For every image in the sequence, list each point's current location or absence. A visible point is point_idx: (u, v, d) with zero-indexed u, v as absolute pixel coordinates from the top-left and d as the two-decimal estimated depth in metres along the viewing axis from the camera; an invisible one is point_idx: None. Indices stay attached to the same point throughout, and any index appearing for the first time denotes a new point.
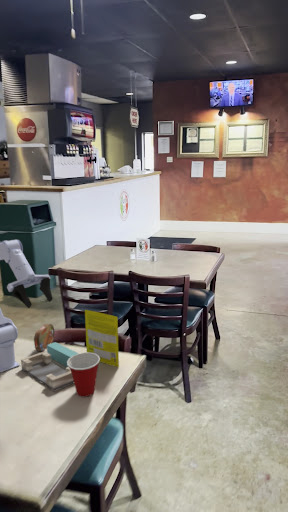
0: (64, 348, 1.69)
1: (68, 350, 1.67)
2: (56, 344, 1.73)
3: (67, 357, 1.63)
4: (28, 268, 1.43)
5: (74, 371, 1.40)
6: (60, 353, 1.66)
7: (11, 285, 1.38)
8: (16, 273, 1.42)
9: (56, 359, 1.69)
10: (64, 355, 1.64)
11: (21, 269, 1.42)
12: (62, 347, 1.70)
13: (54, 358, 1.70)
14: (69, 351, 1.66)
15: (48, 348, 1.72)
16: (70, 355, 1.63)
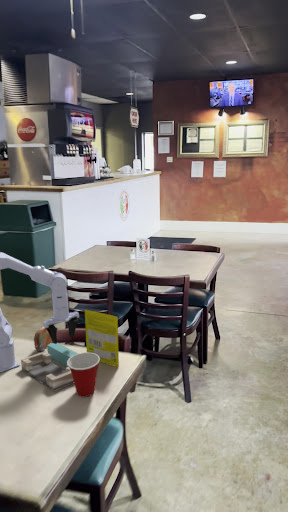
0: (64, 348, 1.69)
1: (68, 350, 1.67)
2: (56, 344, 1.73)
3: (67, 357, 1.63)
4: (66, 311, 1.63)
5: (74, 371, 1.40)
6: (60, 353, 1.66)
7: (47, 324, 1.60)
8: (55, 311, 1.62)
9: (56, 359, 1.69)
10: (64, 355, 1.64)
11: (61, 311, 1.61)
12: (62, 347, 1.70)
13: (54, 358, 1.70)
14: (68, 351, 1.66)
15: (48, 348, 1.72)
16: (70, 355, 1.63)
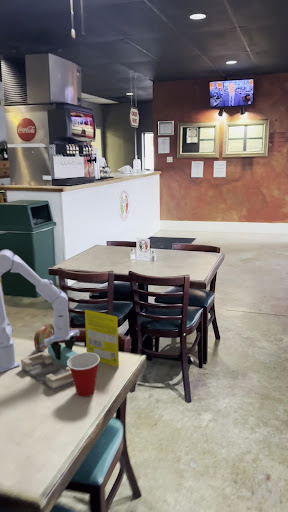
0: (65, 348, 1.69)
1: (67, 350, 1.67)
2: None
3: (66, 357, 1.63)
4: (67, 329, 1.65)
5: (74, 371, 1.40)
6: None
7: (48, 343, 1.62)
8: (56, 329, 1.64)
9: (56, 359, 1.69)
10: (63, 355, 1.64)
11: (62, 329, 1.63)
12: (62, 347, 1.70)
13: (54, 358, 1.70)
14: (68, 351, 1.66)
15: (49, 347, 1.72)
16: (69, 355, 1.63)
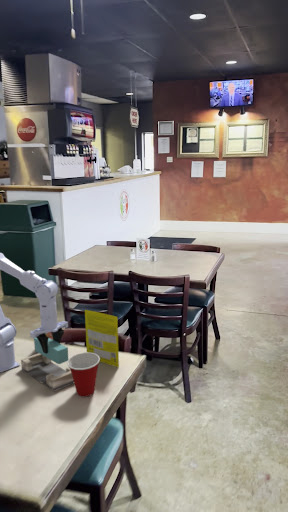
0: (52, 341, 1.59)
1: (55, 343, 1.57)
2: None
3: (54, 351, 1.53)
4: (54, 320, 1.54)
5: (74, 371, 1.40)
6: None
7: (34, 335, 1.52)
8: (42, 320, 1.54)
9: (43, 353, 1.59)
10: (51, 348, 1.54)
11: (49, 320, 1.53)
12: (50, 340, 1.60)
13: (41, 352, 1.60)
14: (56, 344, 1.56)
15: (35, 341, 1.62)
16: (57, 348, 1.53)
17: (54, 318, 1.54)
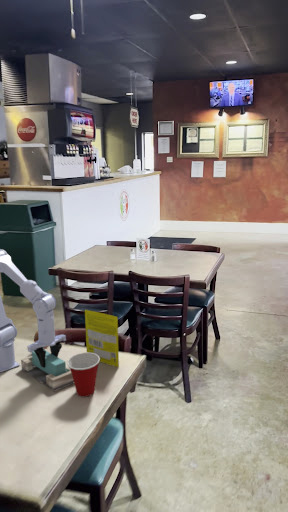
0: (50, 355, 1.57)
1: (53, 357, 1.56)
2: None
3: (51, 365, 1.52)
4: (52, 334, 1.53)
5: (74, 371, 1.40)
6: None
7: (32, 349, 1.50)
8: (40, 334, 1.52)
9: (41, 367, 1.57)
10: (48, 363, 1.53)
11: (46, 334, 1.52)
12: (48, 354, 1.59)
13: (39, 366, 1.58)
14: (54, 358, 1.55)
15: (33, 355, 1.60)
16: (55, 363, 1.51)
17: (52, 332, 1.53)
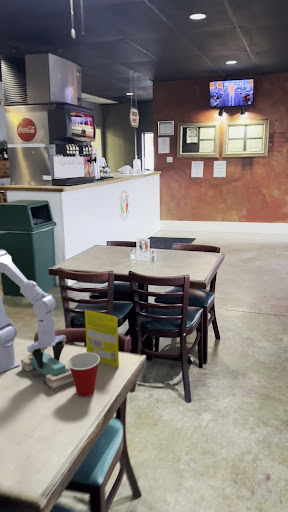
0: (50, 358, 1.58)
1: (53, 360, 1.56)
2: None
3: (52, 368, 1.52)
4: (52, 335, 1.53)
5: (74, 371, 1.40)
6: (45, 363, 1.55)
7: (32, 349, 1.50)
8: (40, 335, 1.52)
9: (41, 370, 1.58)
10: (49, 366, 1.53)
11: (46, 335, 1.52)
12: (48, 357, 1.59)
13: (39, 369, 1.59)
14: (54, 362, 1.55)
15: (33, 358, 1.61)
16: (55, 366, 1.52)
17: (52, 332, 1.53)
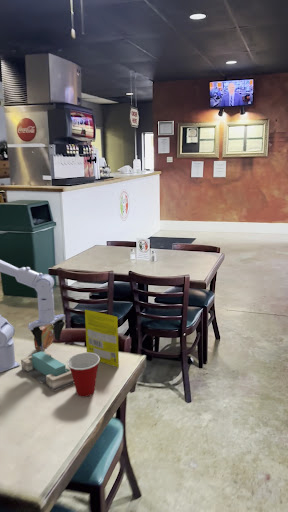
0: (50, 358, 1.58)
1: (53, 360, 1.56)
2: (42, 353, 1.62)
3: (52, 368, 1.52)
4: (52, 313, 1.59)
5: (74, 371, 1.40)
6: (45, 363, 1.55)
7: (32, 327, 1.56)
8: (40, 313, 1.58)
9: (41, 370, 1.58)
10: (49, 366, 1.53)
11: (46, 313, 1.58)
12: (48, 357, 1.59)
13: (39, 369, 1.59)
14: (54, 362, 1.55)
15: (33, 358, 1.61)
16: (55, 366, 1.52)
17: (51, 311, 1.59)
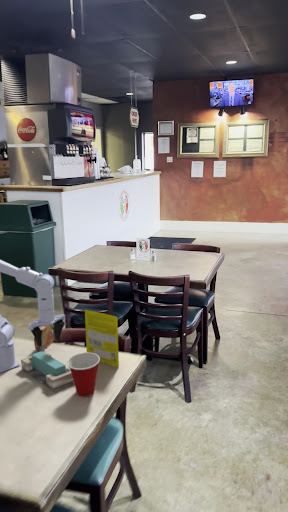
0: (50, 358, 1.58)
1: (53, 360, 1.56)
2: (42, 353, 1.62)
3: (52, 368, 1.52)
4: (52, 313, 1.59)
5: (74, 371, 1.40)
6: (45, 363, 1.55)
7: (32, 327, 1.56)
8: (40, 313, 1.58)
9: (41, 370, 1.58)
10: (49, 366, 1.53)
11: (46, 313, 1.58)
12: (48, 357, 1.59)
13: (39, 369, 1.59)
14: (54, 362, 1.55)
15: (33, 358, 1.61)
16: (55, 366, 1.52)
17: (51, 311, 1.59)
